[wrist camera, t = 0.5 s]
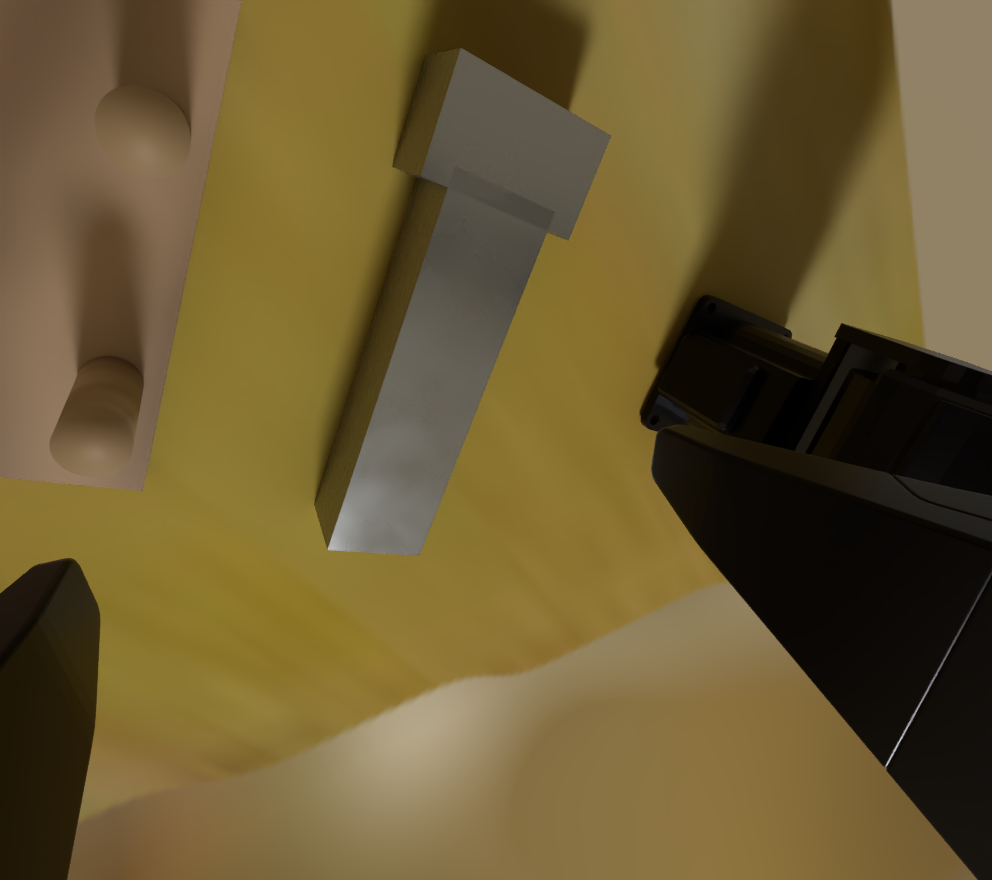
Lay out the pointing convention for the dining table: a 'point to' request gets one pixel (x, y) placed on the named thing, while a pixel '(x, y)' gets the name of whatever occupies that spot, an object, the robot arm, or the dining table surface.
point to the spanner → (449, 291)
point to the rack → (98, 221)
